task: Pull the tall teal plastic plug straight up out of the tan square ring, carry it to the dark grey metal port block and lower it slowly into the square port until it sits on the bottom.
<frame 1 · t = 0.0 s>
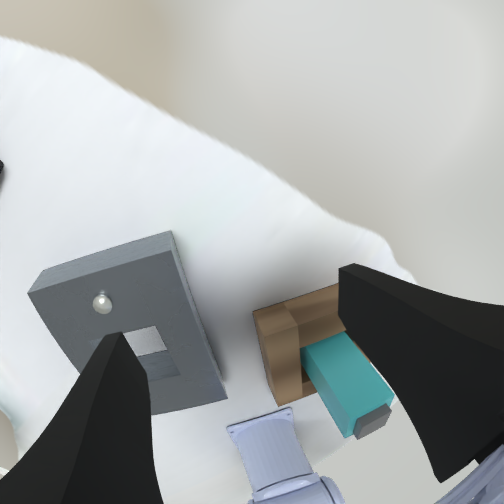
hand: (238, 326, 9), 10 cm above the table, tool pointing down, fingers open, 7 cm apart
tan square ring: (313, 335, 25), on the table
port block: (137, 332, 19), on the table
plug: (340, 376, 20), in the tan square ring
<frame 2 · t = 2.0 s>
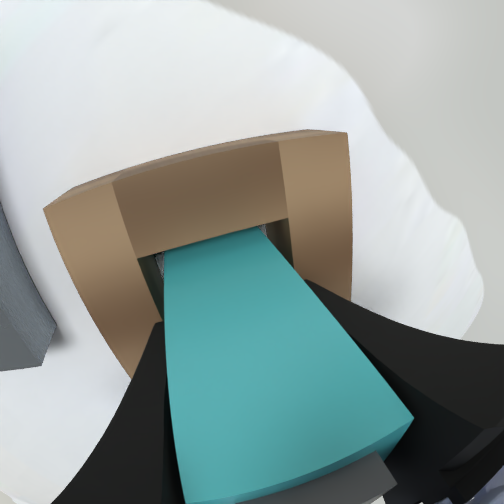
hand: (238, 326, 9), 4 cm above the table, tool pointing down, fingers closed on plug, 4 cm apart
tan square ring: (215, 263, 12), on the table
plug: (246, 347, 8), in the tan square ring, touching gripper
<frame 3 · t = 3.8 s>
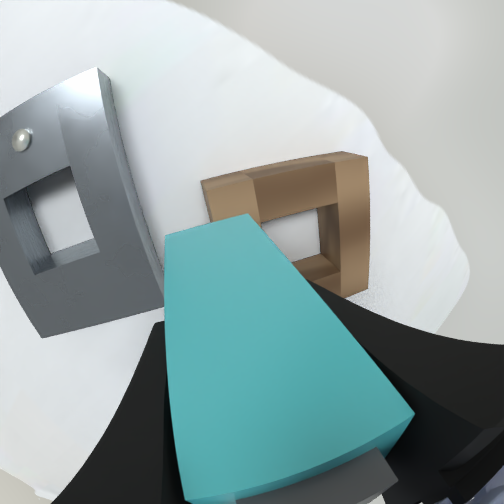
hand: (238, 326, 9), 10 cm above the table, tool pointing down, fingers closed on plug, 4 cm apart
tan square ring: (287, 232, 20), on the table
port block: (65, 209, 15), on the table
plug: (246, 344, 8), point 11 cm above the table, touching gripper
when the fingers open (5 cm above the table, at t = 5.7 s): plug stays where it is, resting in port block.
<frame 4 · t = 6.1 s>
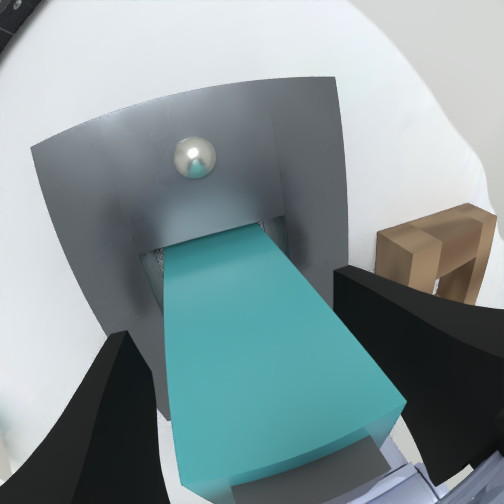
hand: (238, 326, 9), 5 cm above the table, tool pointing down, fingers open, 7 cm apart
tan square ring: (422, 278, 18), on the table
port block: (214, 260, 13), on the table
plug: (243, 337, 8), in the port block
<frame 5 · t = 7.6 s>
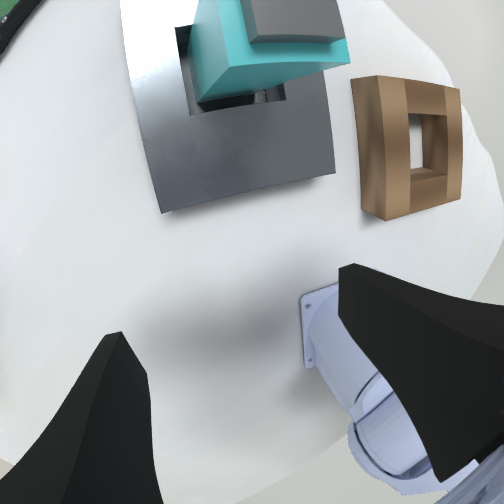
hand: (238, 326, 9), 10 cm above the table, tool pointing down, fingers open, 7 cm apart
tan square ring: (404, 141, 19), on the table
port block: (221, 72, 14), on the table
plug: (243, 46, 9), in the port block
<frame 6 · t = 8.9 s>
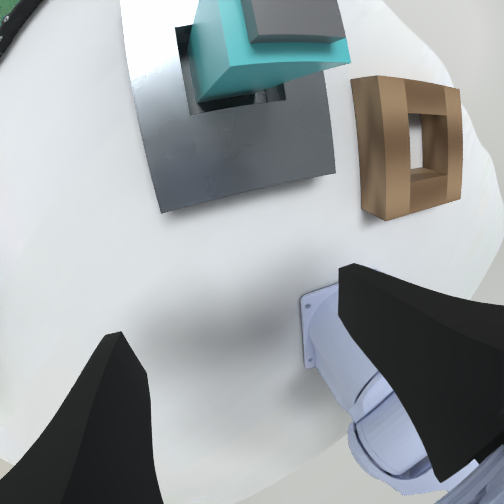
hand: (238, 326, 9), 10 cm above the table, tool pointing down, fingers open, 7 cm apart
tan square ring: (404, 141, 19), on the table
port block: (221, 72, 14), on the table
plug: (243, 46, 9), in the port block
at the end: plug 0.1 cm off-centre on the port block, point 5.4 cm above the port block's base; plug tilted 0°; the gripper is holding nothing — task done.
